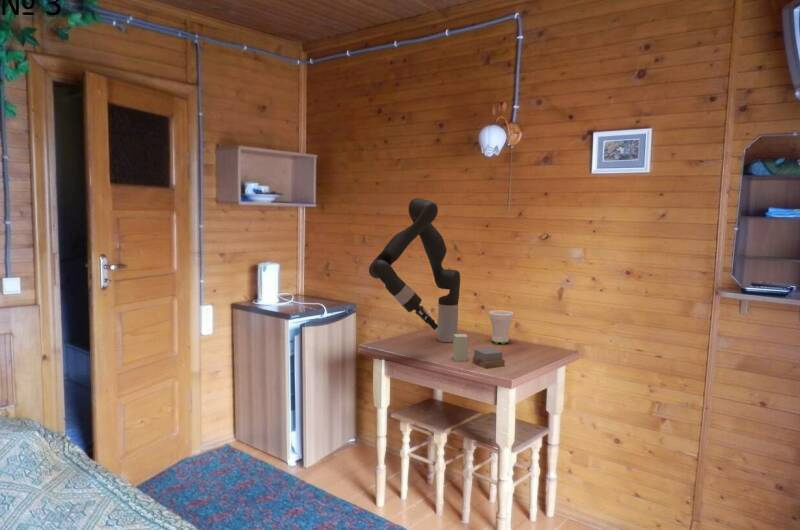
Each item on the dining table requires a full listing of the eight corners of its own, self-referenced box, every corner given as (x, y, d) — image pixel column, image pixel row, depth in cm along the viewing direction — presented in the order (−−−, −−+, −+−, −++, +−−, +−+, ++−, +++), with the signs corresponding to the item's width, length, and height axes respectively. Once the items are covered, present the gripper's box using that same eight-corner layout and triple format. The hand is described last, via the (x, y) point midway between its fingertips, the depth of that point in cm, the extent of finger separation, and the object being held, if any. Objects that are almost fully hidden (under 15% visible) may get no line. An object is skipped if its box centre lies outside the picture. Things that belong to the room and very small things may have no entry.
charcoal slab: (474, 356, 233) (474, 349, 233) (490, 354, 236) (490, 347, 236) (485, 361, 226) (485, 354, 225) (502, 359, 229) (502, 352, 229)
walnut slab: (472, 364, 233) (472, 356, 232) (490, 361, 237) (490, 354, 237) (486, 370, 225) (486, 362, 225) (504, 367, 229) (504, 359, 229)
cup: (494, 346, 260) (495, 315, 259) (484, 340, 271) (485, 310, 270) (516, 345, 263) (517, 314, 262) (505, 339, 274) (507, 309, 273)
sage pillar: (453, 357, 240) (453, 334, 239) (464, 357, 241) (465, 334, 239) (455, 360, 235) (455, 336, 234) (467, 360, 236) (468, 336, 234)
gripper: (416, 294, 226) (444, 323, 228) (412, 288, 240) (439, 316, 242) (402, 307, 226) (430, 336, 229) (399, 301, 240) (426, 328, 243)
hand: (434, 325), depth 235 cm, fingers open, 8 cm apart
